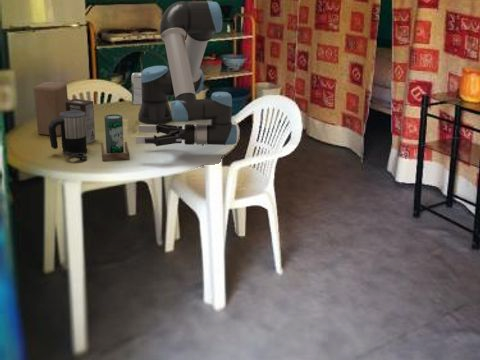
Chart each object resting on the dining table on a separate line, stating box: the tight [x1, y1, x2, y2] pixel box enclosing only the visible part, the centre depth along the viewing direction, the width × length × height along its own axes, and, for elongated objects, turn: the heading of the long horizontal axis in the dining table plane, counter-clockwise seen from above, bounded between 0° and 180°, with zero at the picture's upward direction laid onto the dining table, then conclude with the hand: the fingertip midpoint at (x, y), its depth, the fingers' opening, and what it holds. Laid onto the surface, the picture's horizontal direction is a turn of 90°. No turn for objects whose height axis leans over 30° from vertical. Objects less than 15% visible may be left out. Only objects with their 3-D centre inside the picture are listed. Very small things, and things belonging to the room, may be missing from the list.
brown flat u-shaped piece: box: [100, 141, 130, 162], centre depth 229 cm, size 10×14×2 cm
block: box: [33, 81, 69, 137], centre depth 250 cm, size 10×10×20 cm
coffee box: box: [66, 98, 96, 145], centre depth 241 cm, size 9×6×16 cm
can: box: [104, 113, 125, 154], centre depth 226 cm, size 6×6×15 cm
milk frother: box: [48, 111, 89, 161], centre depth 226 cm, size 14×16×15 cm
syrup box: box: [130, 72, 142, 106], centre depth 298 cm, size 6×6×14 cm
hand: (137, 134), depth 226 cm, fingers open, 13 cm apart
